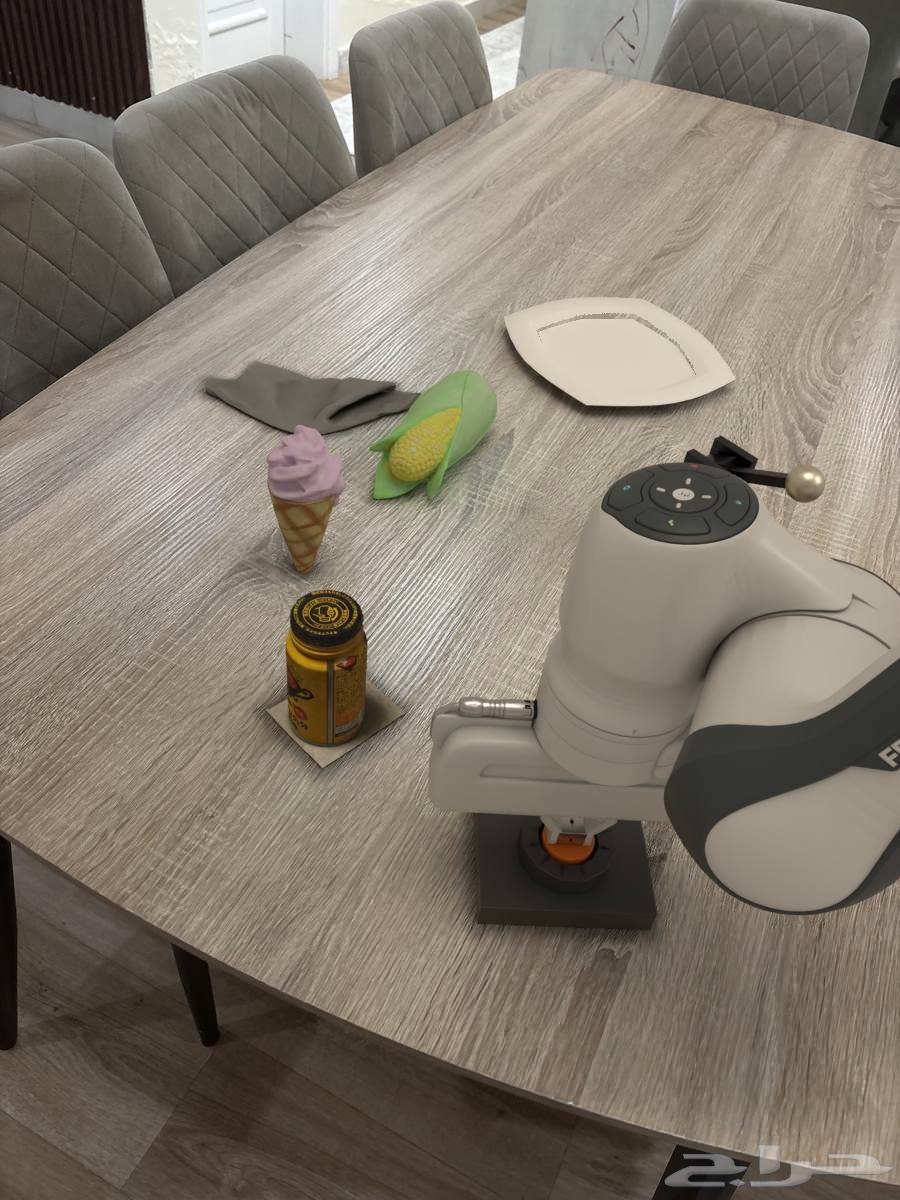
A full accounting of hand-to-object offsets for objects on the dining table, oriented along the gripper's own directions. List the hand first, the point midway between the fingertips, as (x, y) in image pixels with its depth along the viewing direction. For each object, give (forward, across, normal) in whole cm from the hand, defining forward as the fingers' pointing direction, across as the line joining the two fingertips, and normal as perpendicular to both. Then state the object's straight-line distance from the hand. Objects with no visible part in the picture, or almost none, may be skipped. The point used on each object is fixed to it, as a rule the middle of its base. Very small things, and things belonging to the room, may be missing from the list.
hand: (567, 836), depth 65 cm
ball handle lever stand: (+4, +16, +35) cm, 39 cm away
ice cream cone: (+4, -21, +30) cm, 37 cm away
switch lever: (-7, +19, +31) cm, 37 cm away
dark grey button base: (+4, 0, 0) cm, 4 cm away
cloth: (+5, -23, +58) cm, 62 cm away
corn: (+4, -9, +49) cm, 50 cm away
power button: (+2, 0, 0) cm, 2 cm away
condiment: (+4, -17, +13) cm, 22 cm away
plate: (+4, +14, +74) cm, 75 cm away
